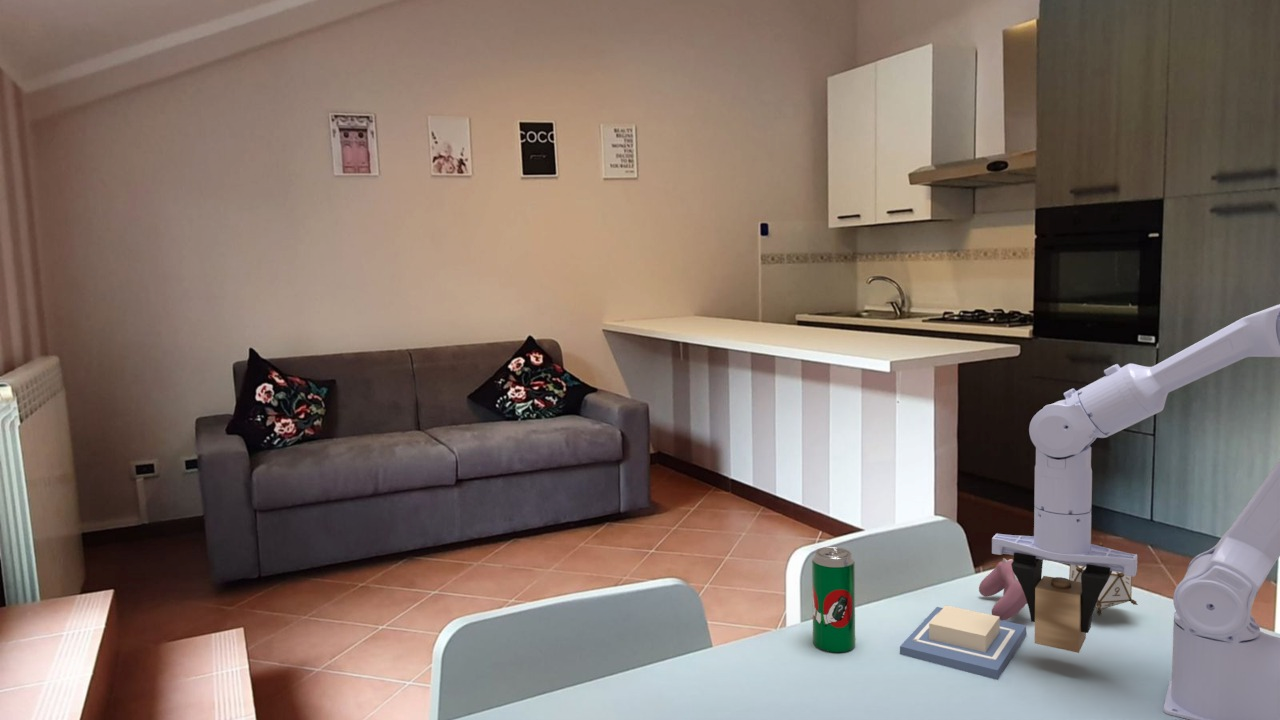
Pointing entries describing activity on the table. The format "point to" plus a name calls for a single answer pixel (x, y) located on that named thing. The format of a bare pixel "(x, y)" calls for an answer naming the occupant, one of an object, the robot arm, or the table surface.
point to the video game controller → (1012, 592)
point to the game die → (1108, 587)
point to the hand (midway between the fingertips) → (1060, 624)
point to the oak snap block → (1059, 613)
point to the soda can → (833, 599)
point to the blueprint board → (963, 658)
